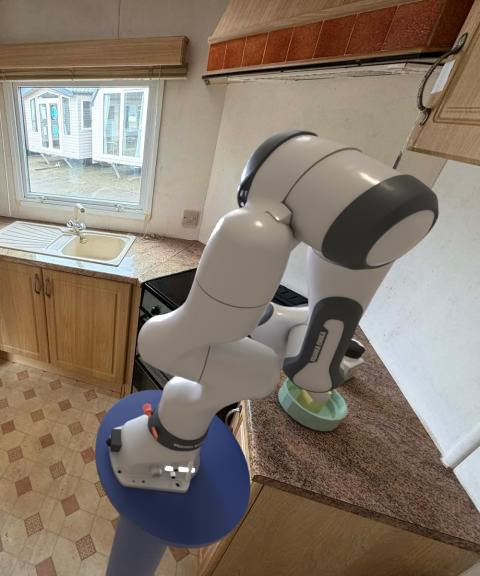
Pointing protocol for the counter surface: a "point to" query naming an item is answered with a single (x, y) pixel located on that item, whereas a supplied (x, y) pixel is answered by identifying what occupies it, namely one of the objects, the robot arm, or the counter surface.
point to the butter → (309, 402)
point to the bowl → (319, 421)
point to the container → (353, 358)
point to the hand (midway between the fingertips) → (306, 379)
